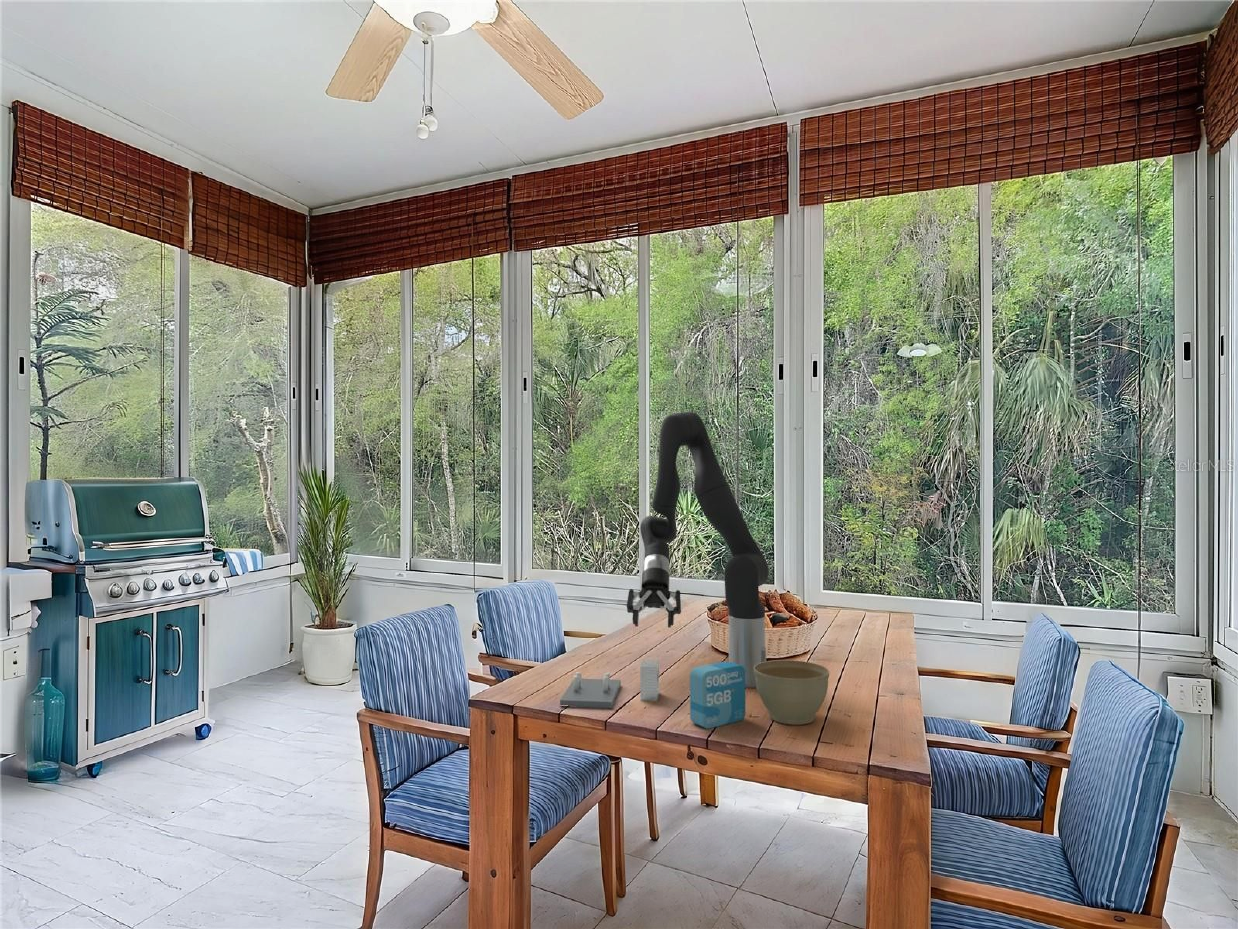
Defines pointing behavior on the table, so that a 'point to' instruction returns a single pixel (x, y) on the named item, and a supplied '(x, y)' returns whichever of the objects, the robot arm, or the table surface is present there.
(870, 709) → the table surface
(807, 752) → the table surface
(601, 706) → the drive dock
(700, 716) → the data package
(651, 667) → the block
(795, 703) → the planter bowl
